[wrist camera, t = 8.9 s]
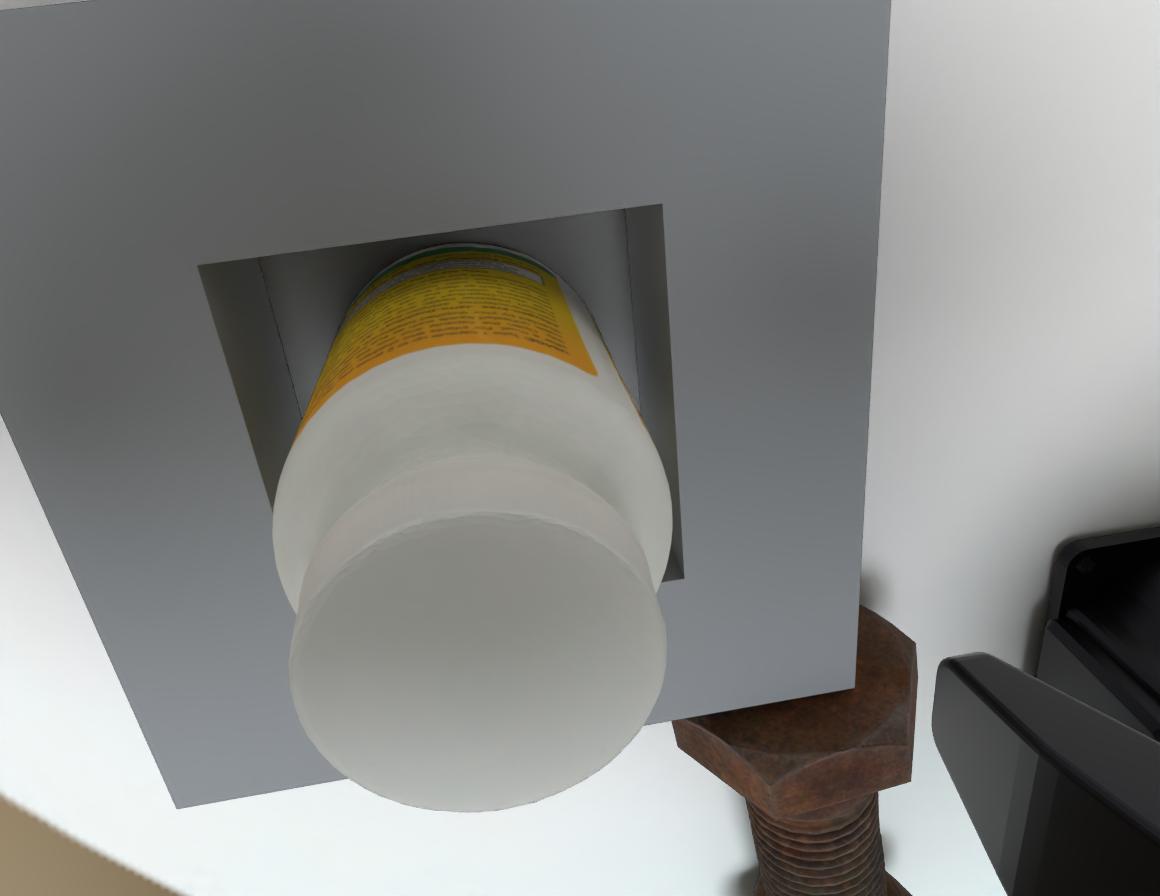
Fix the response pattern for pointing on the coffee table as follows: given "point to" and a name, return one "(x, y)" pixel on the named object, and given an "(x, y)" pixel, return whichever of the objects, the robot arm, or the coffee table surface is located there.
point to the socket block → (413, 208)
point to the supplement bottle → (472, 539)
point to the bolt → (820, 770)
